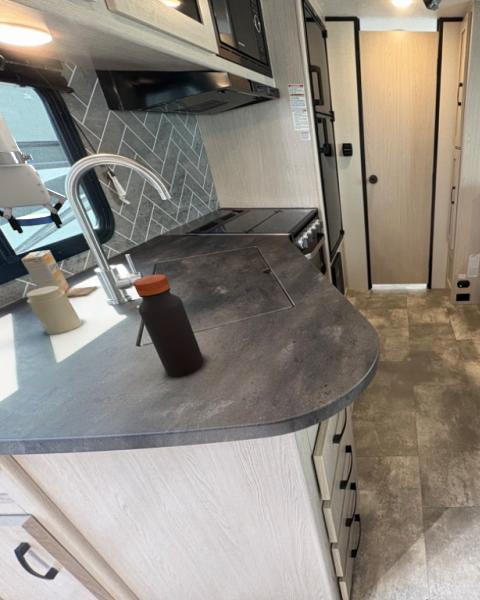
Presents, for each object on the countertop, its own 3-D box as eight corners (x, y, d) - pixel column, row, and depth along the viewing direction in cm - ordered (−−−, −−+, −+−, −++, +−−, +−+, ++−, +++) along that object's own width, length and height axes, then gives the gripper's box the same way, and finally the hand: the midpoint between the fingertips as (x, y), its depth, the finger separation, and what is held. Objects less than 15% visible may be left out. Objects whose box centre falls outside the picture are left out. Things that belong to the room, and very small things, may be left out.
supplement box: (64, 295, 99) (42, 255, 93) (43, 299, 97) (19, 259, 91) (70, 286, 105) (50, 249, 99) (50, 290, 103) (28, 252, 97)
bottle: (205, 369, 65) (171, 281, 56) (166, 382, 62) (123, 290, 53) (203, 353, 70) (172, 269, 61) (167, 364, 67) (128, 277, 58)
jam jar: (39, 336, 78) (15, 298, 73) (57, 323, 83) (35, 287, 79) (72, 331, 79) (50, 294, 75) (87, 319, 85) (67, 283, 80)
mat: (63, 298, 97) (62, 296, 97) (75, 290, 103) (74, 288, 102) (86, 295, 99) (85, 293, 99) (97, 287, 104) (96, 286, 104)
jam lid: (36, 226, 83) (32, 219, 82) (10, 226, 83) (6, 219, 82) (61, 220, 89) (58, 213, 88) (38, 220, 89) (34, 214, 89)
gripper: (51, 158, 87) (81, 222, 95) (-50, 161, 76) (-6, 234, 84) (51, 158, 82) (83, 226, 90) (-56, 162, 71) (-9, 239, 79)
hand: (40, 229), depth 87 cm, fingers closed on jam lid, 6 cm apart
